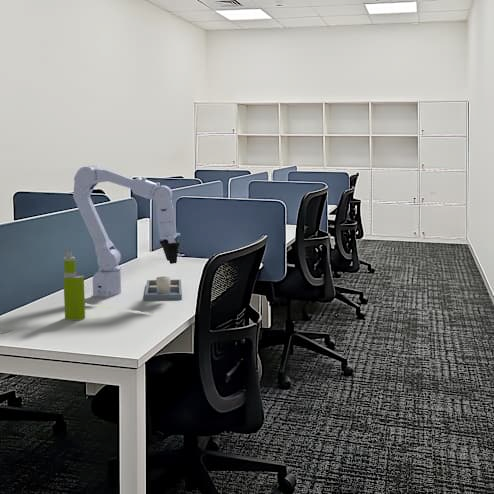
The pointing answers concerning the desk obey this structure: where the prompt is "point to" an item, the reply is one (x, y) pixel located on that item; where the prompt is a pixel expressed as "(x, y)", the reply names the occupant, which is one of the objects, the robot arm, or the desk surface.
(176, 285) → the tray
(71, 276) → the vape
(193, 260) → the desk surface
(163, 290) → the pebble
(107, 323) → the desk surface
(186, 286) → the desk surface
